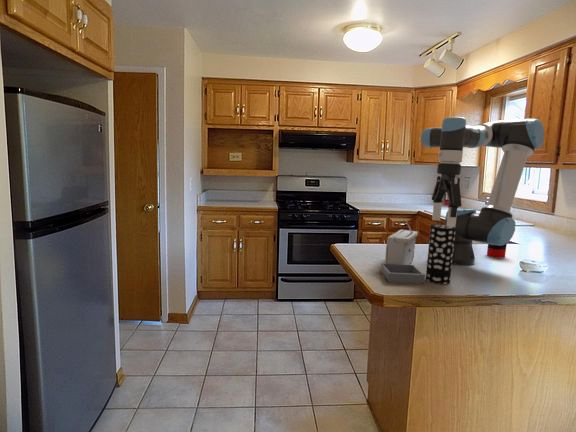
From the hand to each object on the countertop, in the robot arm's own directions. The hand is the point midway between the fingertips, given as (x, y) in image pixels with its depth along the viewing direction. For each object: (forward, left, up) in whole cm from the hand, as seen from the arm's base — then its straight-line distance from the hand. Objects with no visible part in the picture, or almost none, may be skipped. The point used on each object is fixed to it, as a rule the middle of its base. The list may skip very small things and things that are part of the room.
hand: (443, 223), depth 135 cm
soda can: (-43, -42, -21) cm, 64 cm away
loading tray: (+13, -1, -21) cm, 25 cm away
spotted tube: (0, 0, -21) cm, 21 cm away
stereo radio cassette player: (+8, -20, -22) cm, 30 cm away
